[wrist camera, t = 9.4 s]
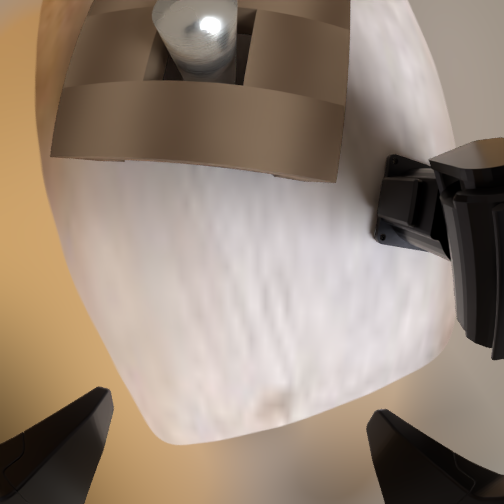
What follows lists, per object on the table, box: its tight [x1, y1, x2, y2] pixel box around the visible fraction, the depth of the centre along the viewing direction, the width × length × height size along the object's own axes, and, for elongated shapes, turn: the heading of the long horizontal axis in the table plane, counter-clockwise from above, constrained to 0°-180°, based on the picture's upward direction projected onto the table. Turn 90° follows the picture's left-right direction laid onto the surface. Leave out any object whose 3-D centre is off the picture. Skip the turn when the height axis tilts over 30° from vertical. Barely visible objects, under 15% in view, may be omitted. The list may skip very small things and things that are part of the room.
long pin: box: [152, 0, 237, 85], centre depth 11 cm, size 3×3×9 cm
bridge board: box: [50, 0, 350, 183], centre depth 13 cm, size 14×12×6 cm
